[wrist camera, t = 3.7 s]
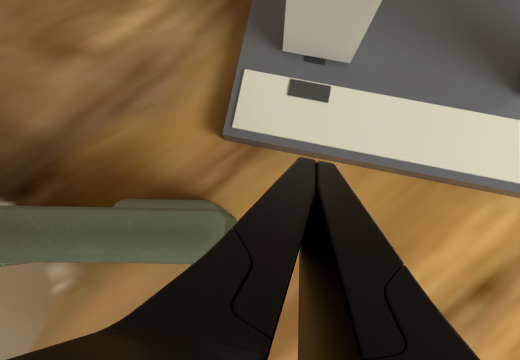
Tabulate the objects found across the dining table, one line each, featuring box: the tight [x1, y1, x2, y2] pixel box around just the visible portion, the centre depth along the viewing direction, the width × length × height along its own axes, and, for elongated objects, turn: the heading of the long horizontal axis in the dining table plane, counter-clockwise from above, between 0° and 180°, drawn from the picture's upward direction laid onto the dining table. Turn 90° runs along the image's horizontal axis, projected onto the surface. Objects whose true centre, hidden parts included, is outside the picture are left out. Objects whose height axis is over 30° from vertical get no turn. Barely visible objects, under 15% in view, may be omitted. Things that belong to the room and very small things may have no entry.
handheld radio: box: [0, 199, 237, 267], centre depth 19 cm, size 7×3×25 cm
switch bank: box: [222, 0, 520, 198], centre depth 22 cm, size 14×22×2 cm, turn 78°
